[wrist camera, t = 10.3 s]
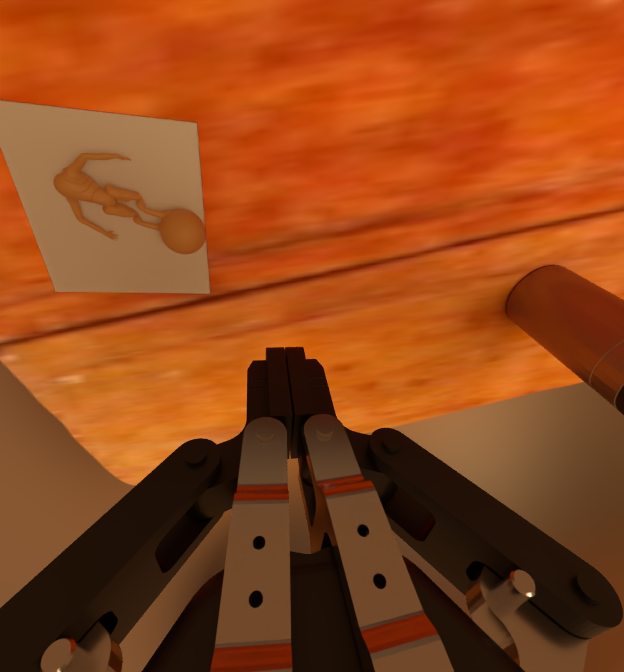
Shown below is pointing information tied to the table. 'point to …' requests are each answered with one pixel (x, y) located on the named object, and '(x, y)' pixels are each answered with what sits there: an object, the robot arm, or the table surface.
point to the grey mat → (136, 175)
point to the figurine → (175, 228)
